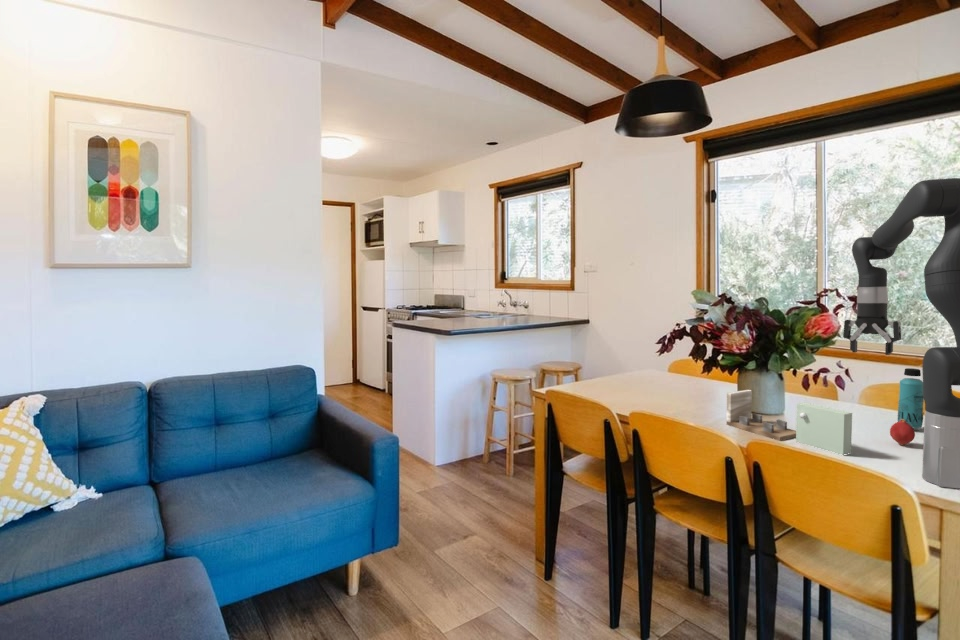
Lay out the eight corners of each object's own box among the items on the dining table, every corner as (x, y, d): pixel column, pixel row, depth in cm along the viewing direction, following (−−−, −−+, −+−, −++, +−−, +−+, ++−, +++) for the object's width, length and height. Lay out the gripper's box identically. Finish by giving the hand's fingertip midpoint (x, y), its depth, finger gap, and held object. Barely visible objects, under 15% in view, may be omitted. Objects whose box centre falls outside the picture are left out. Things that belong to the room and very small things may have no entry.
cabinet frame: (801, 436, 164) (802, 401, 163) (779, 440, 160) (780, 405, 159) (747, 420, 182) (747, 389, 181) (726, 424, 178) (726, 392, 177)
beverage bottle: (892, 428, 169) (894, 368, 168) (904, 425, 172) (907, 366, 170) (915, 433, 163) (917, 371, 161) (927, 430, 166) (930, 369, 164)
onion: (889, 440, 157) (890, 415, 156) (914, 444, 153) (915, 418, 153) (889, 445, 152) (890, 419, 152) (914, 449, 149) (915, 422, 148)
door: (850, 454, 147) (852, 412, 146) (840, 456, 145) (841, 414, 144) (803, 440, 160) (804, 402, 159) (793, 442, 158) (794, 404, 157)
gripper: (840, 301, 163) (840, 352, 164) (897, 302, 151) (895, 356, 152) (849, 301, 167) (848, 350, 168) (904, 301, 156) (903, 354, 157)
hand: (871, 353), depth 160 cm, fingers open, 8 cm apart
